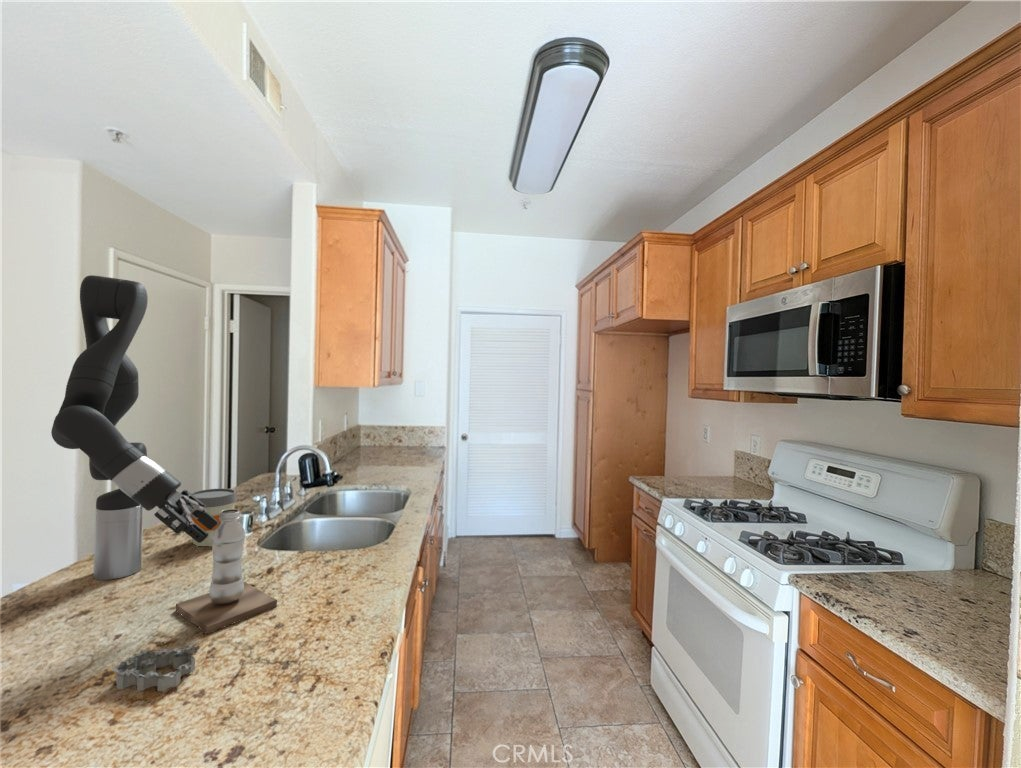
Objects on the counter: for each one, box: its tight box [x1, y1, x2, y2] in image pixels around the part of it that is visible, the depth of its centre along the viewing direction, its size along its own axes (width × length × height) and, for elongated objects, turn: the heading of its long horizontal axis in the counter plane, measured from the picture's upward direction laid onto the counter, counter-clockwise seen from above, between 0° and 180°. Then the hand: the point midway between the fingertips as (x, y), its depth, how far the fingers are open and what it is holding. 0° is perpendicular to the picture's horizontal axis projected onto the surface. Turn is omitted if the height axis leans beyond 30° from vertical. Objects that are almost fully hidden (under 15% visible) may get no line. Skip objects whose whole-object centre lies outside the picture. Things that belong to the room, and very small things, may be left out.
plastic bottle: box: [208, 508, 246, 604], centre depth 99 cm, size 6×7×20 cm
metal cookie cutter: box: [111, 644, 200, 692], centre depth 76 cm, size 11×8×4 cm
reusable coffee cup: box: [190, 487, 237, 547], centre depth 137 cm, size 13×13×15 cm
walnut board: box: [175, 580, 278, 634], centre depth 98 cm, size 15×14×2 cm
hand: (209, 532), depth 97 cm, fingers open, 8 cm apart
